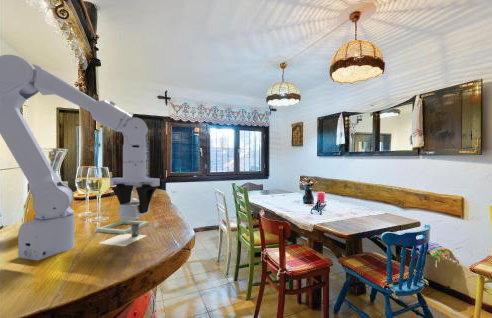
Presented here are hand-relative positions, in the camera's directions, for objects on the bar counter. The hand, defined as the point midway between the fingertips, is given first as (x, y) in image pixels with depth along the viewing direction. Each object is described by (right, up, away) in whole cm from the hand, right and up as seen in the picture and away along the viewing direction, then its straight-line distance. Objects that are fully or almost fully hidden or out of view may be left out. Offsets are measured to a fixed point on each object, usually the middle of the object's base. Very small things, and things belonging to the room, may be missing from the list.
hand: (134, 212), depth 63 cm
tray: (-7, -8, +8) cm, 13 cm away
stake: (0, -6, 0) cm, 6 cm away
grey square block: (0, -1, 0) cm, 1 cm away
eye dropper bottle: (-10, -8, +17) cm, 22 cm away
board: (-2, -8, -3) cm, 8 cm away
